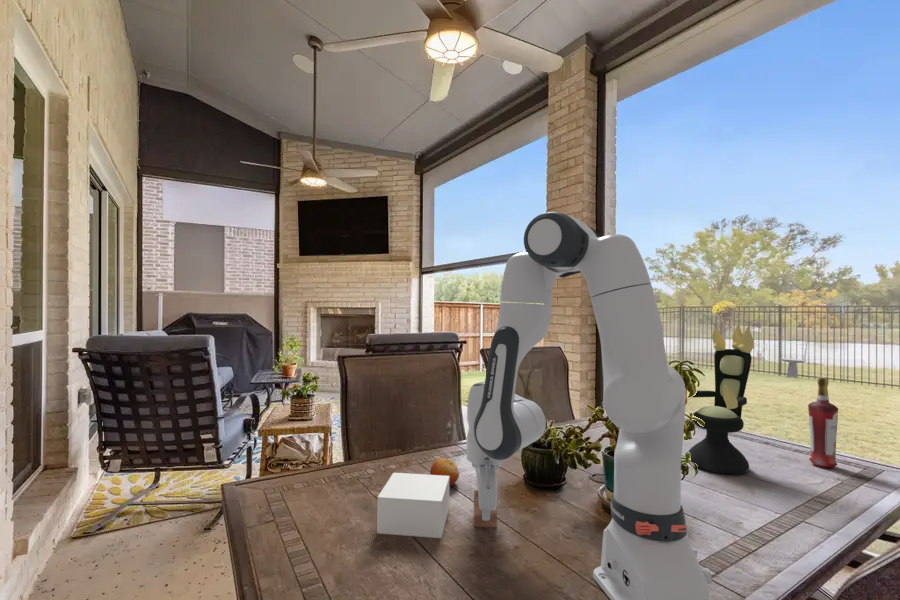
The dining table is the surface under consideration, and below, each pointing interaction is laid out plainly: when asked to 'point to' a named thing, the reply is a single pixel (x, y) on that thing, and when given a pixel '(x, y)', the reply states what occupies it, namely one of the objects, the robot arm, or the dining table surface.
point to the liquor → (823, 427)
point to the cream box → (413, 505)
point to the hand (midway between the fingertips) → (485, 512)
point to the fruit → (445, 469)
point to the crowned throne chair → (725, 406)
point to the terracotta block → (478, 515)
